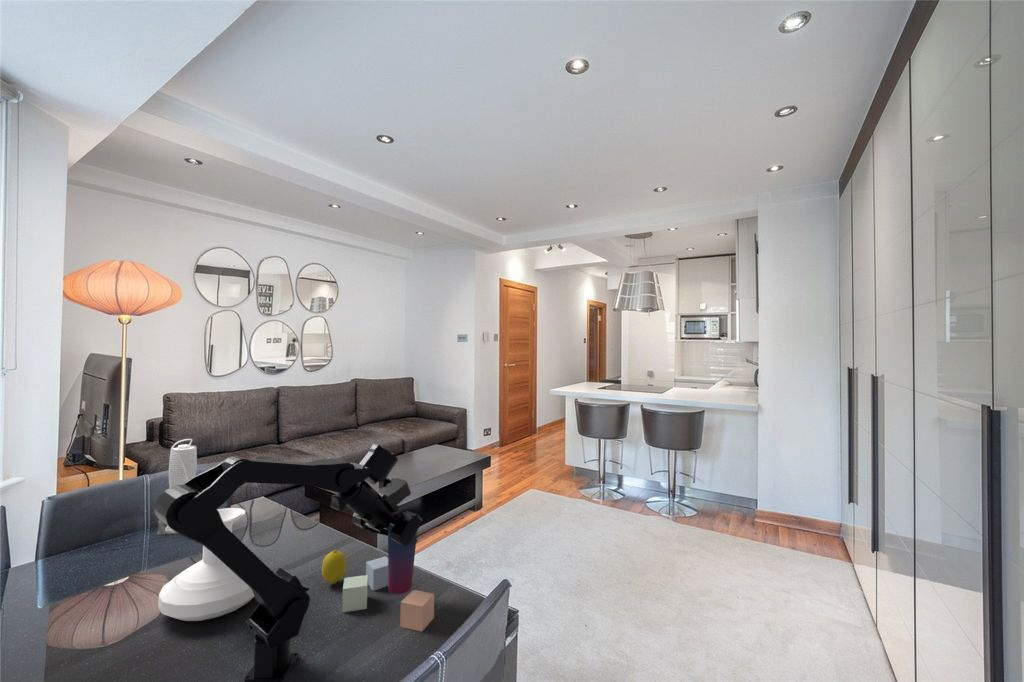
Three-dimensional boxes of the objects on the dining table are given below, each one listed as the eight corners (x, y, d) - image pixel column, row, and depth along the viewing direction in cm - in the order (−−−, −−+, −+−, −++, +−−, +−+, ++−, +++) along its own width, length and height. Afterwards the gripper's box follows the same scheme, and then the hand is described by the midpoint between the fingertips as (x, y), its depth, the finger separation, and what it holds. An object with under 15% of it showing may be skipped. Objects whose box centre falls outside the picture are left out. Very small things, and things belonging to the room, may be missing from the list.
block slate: (393, 584, 105) (393, 563, 105) (373, 591, 102) (373, 569, 102) (385, 576, 109) (385, 556, 109) (365, 582, 106) (366, 561, 106)
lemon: (337, 591, 102) (338, 556, 102) (316, 588, 103) (317, 554, 103) (350, 579, 107) (351, 546, 108) (330, 577, 108) (331, 544, 109)
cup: (382, 583, 99) (386, 516, 100) (412, 579, 102) (415, 513, 103) (386, 598, 93) (389, 526, 94) (417, 593, 96) (421, 523, 97)
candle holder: (135, 639, 84) (140, 538, 85) (183, 587, 103) (186, 505, 104) (251, 623, 89) (254, 528, 90) (276, 576, 108) (279, 498, 109)
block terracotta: (421, 632, 87) (422, 606, 87) (400, 627, 88) (400, 602, 89) (433, 618, 92) (434, 593, 92) (413, 613, 93) (413, 589, 93)
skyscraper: (172, 524, 142) (176, 438, 143) (200, 523, 143) (203, 437, 145) (156, 534, 134) (160, 443, 135) (185, 533, 135) (189, 442, 136)
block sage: (366, 609, 95) (367, 585, 95) (342, 612, 93) (342, 589, 93) (367, 597, 99) (367, 574, 100) (344, 600, 98) (344, 577, 98)
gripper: (416, 476, 90) (453, 516, 98) (365, 463, 102) (402, 499, 110) (382, 526, 84) (426, 564, 92) (332, 505, 95) (374, 541, 103)
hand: (407, 539), depth 99 cm, fingers closed on cup, 6 cm apart
